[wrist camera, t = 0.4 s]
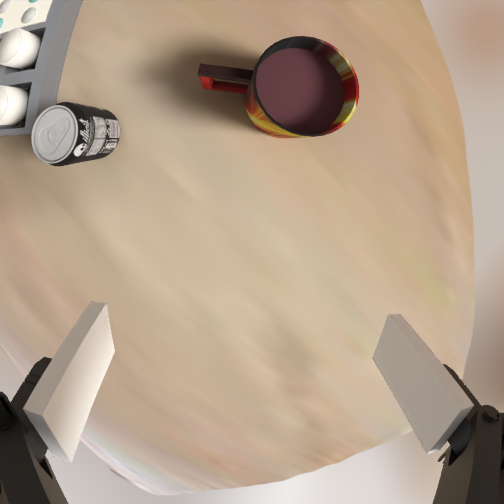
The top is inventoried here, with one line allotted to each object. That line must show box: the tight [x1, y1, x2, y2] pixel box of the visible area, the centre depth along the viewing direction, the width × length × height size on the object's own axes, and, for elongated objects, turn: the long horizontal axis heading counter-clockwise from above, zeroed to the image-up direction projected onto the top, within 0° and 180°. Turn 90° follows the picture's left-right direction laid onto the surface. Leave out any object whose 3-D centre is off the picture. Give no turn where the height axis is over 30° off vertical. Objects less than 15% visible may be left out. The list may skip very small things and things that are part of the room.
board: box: [0, 0, 83, 136], centre depth 25 cm, size 24×19×5 cm
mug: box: [198, 36, 359, 138], centre depth 29 cm, size 10×14×12 cm
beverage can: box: [31, 102, 120, 166], centre depth 28 cm, size 7×7×12 cm
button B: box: [0, 85, 30, 125], centre depth 25 cm, size 5×5×5 cm
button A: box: [0, 28, 42, 70], centre depth 22 cm, size 5×5×5 cm
